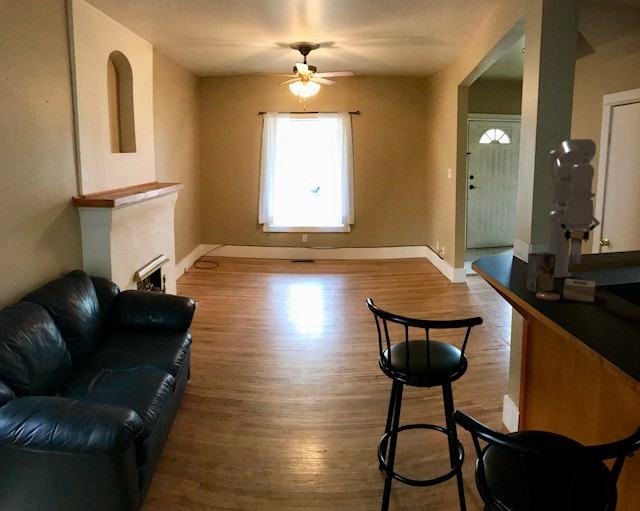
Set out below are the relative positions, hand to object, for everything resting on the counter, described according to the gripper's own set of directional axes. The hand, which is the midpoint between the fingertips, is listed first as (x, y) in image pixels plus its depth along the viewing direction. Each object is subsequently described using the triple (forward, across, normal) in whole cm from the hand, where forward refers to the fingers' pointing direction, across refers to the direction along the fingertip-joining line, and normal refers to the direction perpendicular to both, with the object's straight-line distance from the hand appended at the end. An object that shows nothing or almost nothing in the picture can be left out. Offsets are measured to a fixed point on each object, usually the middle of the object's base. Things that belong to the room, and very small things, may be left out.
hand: (576, 240), depth 205 cm
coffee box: (+24, +13, -7) cm, 28 cm away
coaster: (+24, +8, +4) cm, 25 cm away
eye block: (+24, -3, -1) cm, 24 cm away
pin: (+9, 0, 0) cm, 9 cm away
